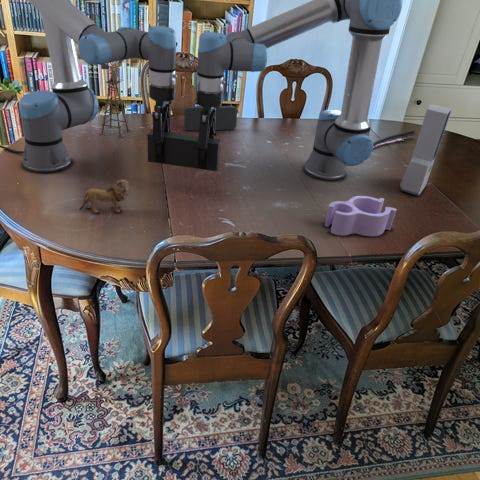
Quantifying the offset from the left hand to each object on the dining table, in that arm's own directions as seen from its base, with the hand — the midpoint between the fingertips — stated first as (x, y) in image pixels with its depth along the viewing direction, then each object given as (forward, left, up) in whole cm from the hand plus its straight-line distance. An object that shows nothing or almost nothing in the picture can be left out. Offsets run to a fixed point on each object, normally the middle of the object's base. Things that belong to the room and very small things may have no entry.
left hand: (162, 158), depth 149 cm
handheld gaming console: (+6, +58, -9) cm, 59 cm away
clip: (+63, -9, -9) cm, 65 cm away
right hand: (+14, 0, +1) cm, 14 cm away
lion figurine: (-11, -20, -9) cm, 25 cm away
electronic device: (+87, +25, -9) cm, 91 cm away
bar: (+7, 0, -1) cm, 7 cm away
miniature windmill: (-30, +40, -9) cm, 51 cm away
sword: (+87, +71, -9) cm, 113 cm away
